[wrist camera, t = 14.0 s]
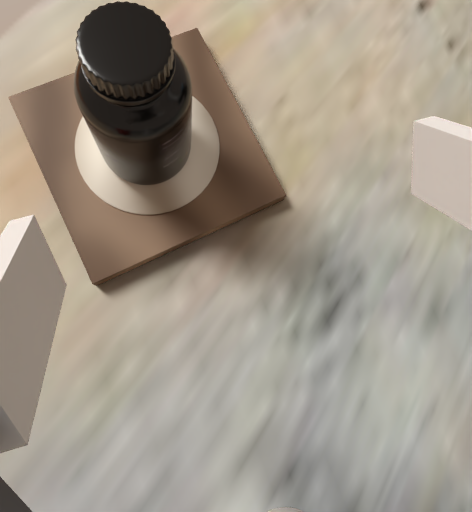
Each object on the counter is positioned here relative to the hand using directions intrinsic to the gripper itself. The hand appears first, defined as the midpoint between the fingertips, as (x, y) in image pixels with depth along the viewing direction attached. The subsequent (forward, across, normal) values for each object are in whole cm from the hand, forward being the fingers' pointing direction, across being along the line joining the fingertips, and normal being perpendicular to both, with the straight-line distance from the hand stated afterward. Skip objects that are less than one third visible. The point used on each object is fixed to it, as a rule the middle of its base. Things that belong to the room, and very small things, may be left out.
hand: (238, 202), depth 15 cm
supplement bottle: (+20, -3, -3) cm, 21 cm away
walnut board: (+21, -3, -3) cm, 22 cm away
